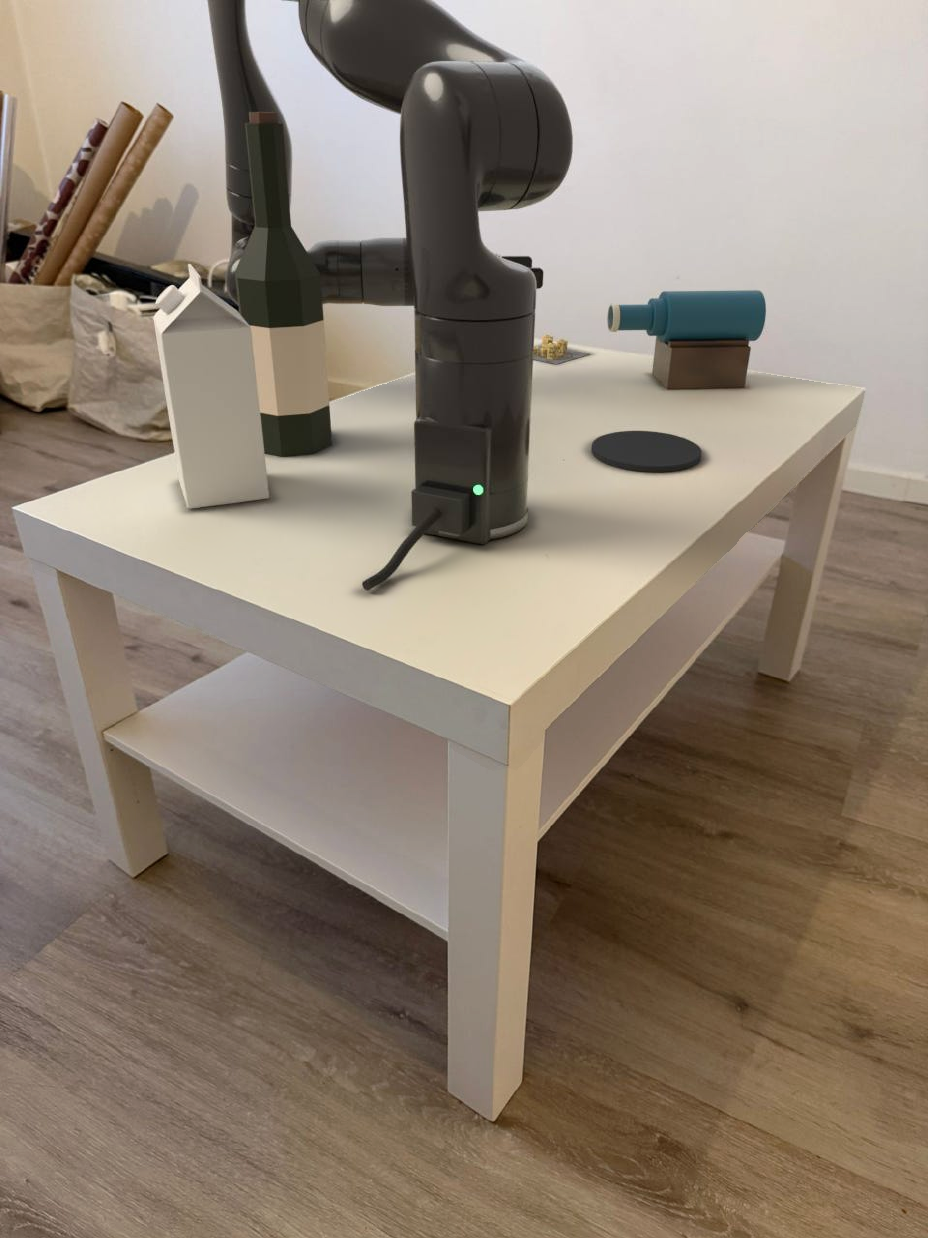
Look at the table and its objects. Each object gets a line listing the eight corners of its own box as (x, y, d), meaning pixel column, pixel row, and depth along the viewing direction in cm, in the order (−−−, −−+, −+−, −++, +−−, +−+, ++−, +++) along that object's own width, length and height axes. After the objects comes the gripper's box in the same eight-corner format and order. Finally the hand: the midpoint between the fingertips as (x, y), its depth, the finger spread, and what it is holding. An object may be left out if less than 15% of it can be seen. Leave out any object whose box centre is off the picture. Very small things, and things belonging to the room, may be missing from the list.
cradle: (725, 373, 120) (732, 329, 117) (744, 387, 114) (752, 342, 111) (651, 374, 119) (656, 330, 116) (667, 389, 113) (672, 343, 110)
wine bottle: (340, 431, 97) (320, 111, 82) (322, 458, 90) (297, 113, 75) (265, 428, 98) (231, 111, 83) (241, 454, 91) (199, 112, 76)
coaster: (687, 479, 86) (688, 473, 85) (577, 461, 90) (577, 456, 89) (711, 444, 94) (711, 439, 94) (609, 430, 98) (609, 424, 98)
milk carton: (256, 473, 86) (231, 261, 77) (270, 500, 80) (245, 274, 71) (179, 482, 84) (144, 265, 74) (187, 511, 78) (151, 279, 69)
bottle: (744, 337, 117) (750, 288, 114) (762, 344, 111) (769, 292, 109) (603, 339, 115) (606, 289, 113) (614, 346, 110) (618, 294, 107)
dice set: (546, 347, 131) (546, 334, 130) (574, 353, 128) (575, 339, 127) (524, 353, 128) (524, 339, 127) (552, 360, 125) (553, 345, 124)
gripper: (402, 246, 98) (549, 246, 100) (398, 229, 111) (529, 229, 112) (403, 318, 102) (545, 316, 104) (399, 293, 114) (526, 293, 116)
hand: (536, 271), depth 108 cm, fingers open, 8 cm apart
